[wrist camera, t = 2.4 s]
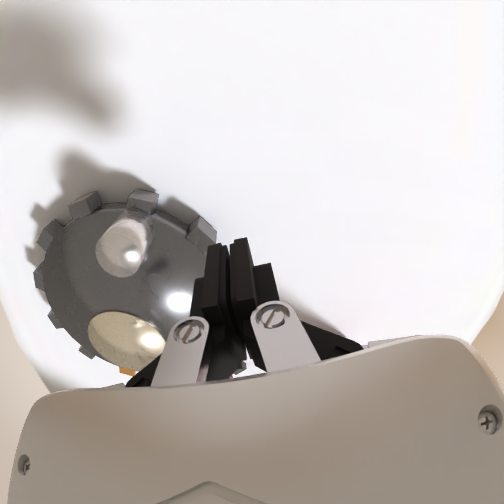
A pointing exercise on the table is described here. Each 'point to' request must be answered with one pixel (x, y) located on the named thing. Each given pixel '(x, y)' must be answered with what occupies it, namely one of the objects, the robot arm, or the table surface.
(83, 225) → the sprocket
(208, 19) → the table surface
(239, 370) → the bar
